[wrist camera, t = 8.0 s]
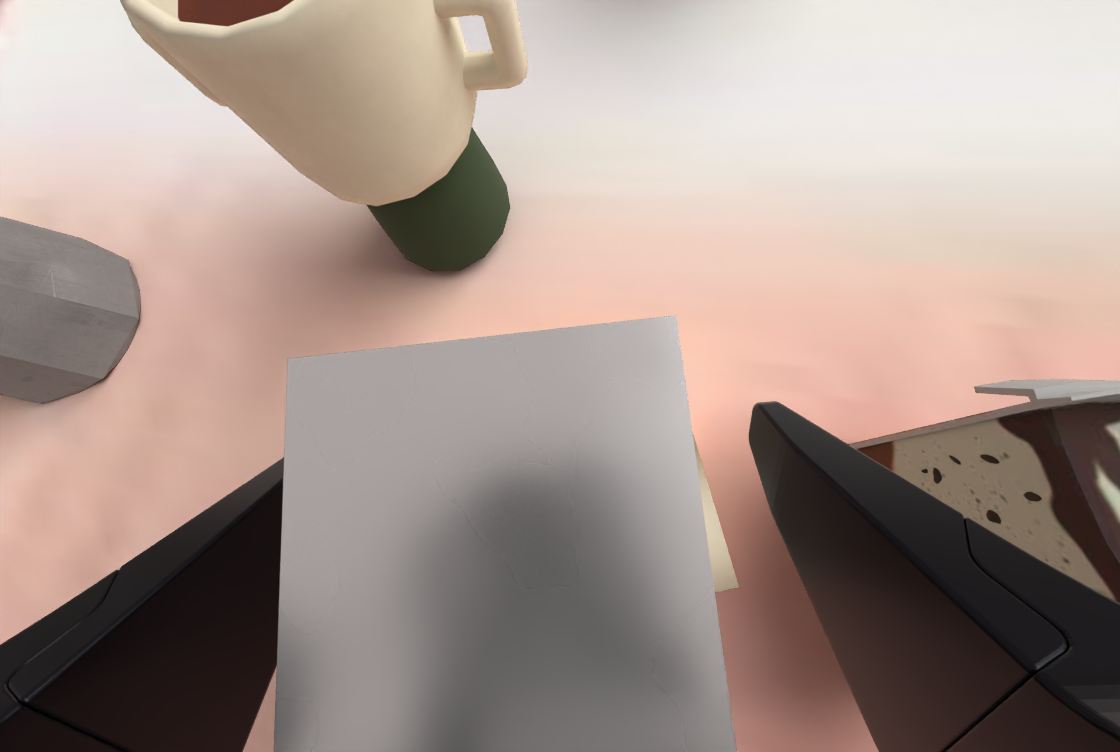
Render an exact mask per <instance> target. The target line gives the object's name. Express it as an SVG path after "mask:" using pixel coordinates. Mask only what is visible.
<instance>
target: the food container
mask: <svg viewBox="0 0 1120 752" xmlns="http://www.w3.org/2000/svg"><path fill="white" fill-rule="evenodd" d="M974 388H975V392H976V393H987V394H1002V395H1016V396H1028V397H1029V399H1030V401H1031V402H1027V403H1023V404H1019V405H1014V406H1010V407H1006V408H1002V409H997V410H993V411H989V412H984V413H980V414H976V415H972V416H967V417H963V418H959V419H955V420H950V421H946V422H942V423H937V424H933V425H929V426H925V427H920V428H916V429H912V430H908V431H903V432H899V433H895V434H891V435H886V436H882V437H878V438H873V439H869V440H865V441H861V442H856V443H852V444H848V445H850V446H852V447H853V448H855V449H856V450H858V451H860V452H861V453H863V454H865V455H866V456H868V457H870V458H871V459H873V460H875V461H876V462H878V463H880V464H881V465H883V466H884V467H886V468H888V469H889V470H891V471H893V472H894V473H896V474H898V475H899V476H901V477H903V478H904V479H906V480H908V481H909V482H911V483H912V484H914V485H916V486H917V487H919V488H921V489H922V490H924V491H926V492H927V493H929V494H931V495H932V496H934V497H936V498H937V499H939V500H940V501H942V502H944V503H945V504H947V505H949V506H950V507H952V508H954V509H955V510H957V511H959V512H960V513H962V514H963V516H964V518H966V517H968V518H970V519H972V520H974V521H975V522H977V523H979V524H980V525H982V526H984V527H985V528H987V529H989V530H990V531H992V532H993V533H995V534H997V535H999V536H1000V537H1002V538H1004V539H1005V540H1007V541H1009V542H1010V543H1012V544H1014V545H1016V546H1017V547H1019V548H1021V549H1022V550H1024V551H1026V552H1028V553H1029V554H1031V555H1033V556H1034V557H1036V558H1038V559H1039V560H1041V561H1043V562H1045V563H1047V564H1049V565H1050V566H1052V567H1054V568H1056V569H1058V570H1059V571H1061V572H1063V573H1065V574H1067V575H1069V576H1070V577H1072V578H1074V579H1076V580H1078V581H1079V582H1081V583H1083V584H1085V585H1087V586H1089V587H1090V588H1092V589H1094V590H1096V591H1098V592H1100V593H1101V594H1103V595H1105V596H1107V597H1109V598H1111V599H1113V600H1115V601H1116V602H1118V603H1120V381H1104V380H1068V379H1043V380H1011V381H1005V382H999V383H993V384H987V385H981V386H975V387H974Z"/></svg>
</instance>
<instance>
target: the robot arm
mask: <svg viewBox="0 0 1120 752" xmlns="http://www.w3.org/2000/svg"><path fill="white" fill-rule="evenodd" d="M749 443H750V447H751V450H752V453H753V456H754V459H755V463H756V466H757V469H758V472H759V475H760V479H761V482H762V485H763V488H764V491H765V494H766V498H767V501H768V504H769V507H770V510H771V513H772V515H773V517H774V520H775V522H776V525H777V527H778V529H779V531H780V534H781V536H782V538H783V540H784V542H785V545H786V547H787V549H788V551H789V554H790V556H791V558H792V560H793V562H794V565H795V567H796V569H797V571H798V573H799V576H800V578H801V580H802V582H803V585H804V587H805V589H806V591H807V593H808V596H809V598H810V600H811V602H812V605H813V607H814V609H815V611H816V613H817V616H818V618H819V620H820V622H821V625H822V627H823V629H824V631H825V633H826V636H827V638H828V640H829V642H830V645H831V647H832V649H833V651H834V653H835V656H836V658H837V660H838V662H839V665H840V667H841V669H842V671H843V673H844V676H845V678H846V680H847V682H848V684H849V687H850V689H851V691H852V693H853V696H854V698H855V700H856V702H857V704H858V707H859V709H860V711H861V713H862V716H863V718H864V720H865V722H866V724H867V727H868V729H869V731H870V733H871V736H872V738H873V740H874V742H875V744H876V747H877V749H878V751H879V752H1120V603H1118V602H1116V601H1115V600H1113V599H1111V598H1109V597H1107V596H1105V595H1103V594H1101V593H1100V592H1098V591H1096V590H1094V589H1092V588H1090V587H1089V586H1087V585H1085V584H1083V583H1081V582H1079V581H1078V580H1076V579H1074V578H1072V577H1070V576H1069V575H1067V574H1065V573H1063V572H1061V571H1059V570H1058V569H1056V568H1054V567H1052V566H1050V565H1049V564H1047V563H1045V562H1043V561H1041V560H1039V559H1038V558H1036V557H1034V556H1033V555H1031V554H1029V553H1028V552H1026V551H1024V550H1022V549H1021V548H1019V547H1017V546H1016V545H1014V544H1012V543H1010V542H1009V541H1007V540H1005V539H1004V538H1002V537H1000V536H999V535H997V534H995V533H993V532H992V531H990V530H989V529H987V528H985V527H984V526H982V525H980V524H979V523H977V522H975V521H974V520H972V519H970V518H968V517H966V518H964V516H963V514H962V513H960V512H959V511H957V510H955V509H954V508H952V507H950V506H949V505H947V504H945V503H944V502H942V501H940V500H939V499H937V498H936V497H934V496H932V495H931V494H929V493H927V492H926V491H924V490H922V489H921V488H919V487H917V486H916V485H914V484H912V483H911V482H909V481H908V480H906V479H904V478H903V477H901V476H899V475H898V474H896V473H894V472H893V471H891V470H889V469H888V468H886V467H884V466H883V465H881V464H880V463H878V462H876V461H875V460H873V459H871V458H870V457H868V456H866V455H865V454H863V453H861V452H860V451H858V450H856V449H855V448H853V447H852V446H850V445H848V444H847V443H845V442H843V441H842V440H840V439H838V438H837V437H835V436H833V435H832V434H830V433H828V432H827V431H825V430H824V429H822V428H820V427H819V426H817V425H815V424H814V423H812V422H810V421H809V420H807V419H805V418H804V417H802V416H800V415H799V414H797V413H796V412H794V411H792V410H791V409H789V408H787V407H786V406H784V405H782V404H781V403H779V402H776V401H772V402H760V403H756V404H755V405H754V407H753V410H752V417H751V423H750V429H749ZM283 477H284V458H282V459H281V460H279V461H278V462H276V463H275V464H273V465H272V466H270V467H269V468H267V469H266V470H264V471H263V472H261V473H260V474H258V475H257V476H255V477H254V478H253V479H251V480H250V481H248V482H247V483H245V484H244V485H242V486H241V487H239V488H238V489H236V490H235V491H233V492H232V493H230V494H229V495H227V496H226V497H224V498H223V499H221V500H220V501H218V502H217V503H215V504H214V505H212V506H211V507H209V508H208V509H206V510H205V511H203V512H202V513H200V514H199V515H197V516H196V517H194V518H193V519H191V520H190V521H188V522H187V523H185V524H184V525H182V526H181V527H180V528H178V529H177V530H175V531H174V532H172V533H171V534H169V535H168V536H166V537H165V538H163V539H162V540H160V541H159V542H157V543H156V544H154V545H153V546H151V547H150V548H148V549H147V550H145V551H144V552H142V553H141V554H139V555H138V556H136V557H135V558H133V559H132V560H130V561H129V562H127V563H126V564H124V565H123V566H122V567H121V568H120V570H115V571H114V572H112V573H111V574H109V575H108V576H106V577H105V578H103V579H102V580H100V581H99V582H97V583H96V584H94V585H93V586H91V587H90V588H88V589H87V590H85V591H84V592H82V593H81V594H79V595H78V596H76V597H75V598H73V599H72V600H70V601H69V602H67V603H66V604H64V605H63V606H61V607H59V608H58V609H56V610H55V611H53V612H52V613H50V614H49V615H47V616H45V617H44V618H42V619H41V620H39V621H37V622H36V623H34V624H33V625H31V626H30V627H28V628H26V629H25V630H23V631H22V632H20V633H18V634H17V635H15V636H14V637H12V638H10V639H9V640H7V641H6V642H4V643H2V644H1V645H0V752H243V749H244V747H245V744H246V742H247V739H248V737H249V734H250V732H251V729H252V727H253V724H254V722H255V719H256V717H257V714H258V711H259V709H260V706H261V704H262V701H263V699H264V696H265V694H266V691H267V689H268V686H269V684H270V681H271V679H272V676H273V674H274V671H275V669H276V666H277V647H278V619H279V590H280V562H281V533H282V505H283Z"/></svg>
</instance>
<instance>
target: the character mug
mask: <svg viewBox="0 0 1120 752" xmlns="http://www.w3.org/2000/svg"><path fill="white" fill-rule="evenodd" d="M120 2H121V4H122V6H123V7H124V9H125V11H126V13H127V15H128V17H129V20H130V22H131V24H132V26H133V28H134V29H135V30H136V31H137V33H138V34H139V35H140V36H141V38H142V39H143V40H144V41H145V42H146V43H147V44H148V45H149V46H150V47H151V48H153V49H154V50H155V51H156V52H157V53H158V54H159V55H160V56H162V57H163V58H164V59H165V60H166V61H167V62H168V63H169V64H170V65H172V66H173V67H174V68H175V69H176V70H177V71H178V72H179V73H181V74H182V75H183V76H184V77H185V78H186V79H187V80H189V81H190V82H191V83H192V84H193V85H194V86H195V87H196V88H198V89H199V90H200V91H201V92H202V93H203V94H204V95H205V96H207V97H208V98H210V99H211V100H213V101H214V102H216V103H218V104H219V105H221V106H227V107H229V108H230V109H231V110H232V111H233V112H234V113H235V114H236V115H237V116H239V117H240V118H241V119H242V120H243V121H244V122H245V123H246V124H247V125H248V126H249V127H251V128H252V129H253V130H254V131H255V132H256V133H257V134H258V135H259V136H260V137H262V138H263V139H264V140H265V141H266V142H267V143H268V144H269V145H270V146H271V147H273V148H274V149H275V150H276V151H277V152H278V153H279V154H280V155H281V156H282V157H284V158H285V159H286V160H287V161H288V162H289V163H290V164H291V165H292V166H293V167H294V168H296V169H297V170H298V171H299V172H300V173H302V174H303V175H305V176H306V177H308V178H309V179H311V180H312V181H314V182H315V183H317V184H318V185H320V186H321V187H323V188H324V189H326V190H327V191H329V192H330V193H332V194H333V195H335V196H336V197H338V198H339V199H341V200H345V201H350V202H356V203H361V204H366V205H367V206H368V208H369V209H370V211H371V212H372V214H373V215H374V217H375V218H376V220H377V221H378V222H379V224H380V225H381V226H382V228H383V229H384V230H385V232H386V233H387V234H388V236H389V237H390V238H391V240H392V241H393V242H394V244H395V245H396V246H397V247H398V249H399V250H400V251H401V252H402V254H403V255H404V256H405V258H406V259H408V260H410V261H412V262H414V263H416V264H418V265H420V266H422V267H424V268H426V269H428V270H430V271H448V270H460V269H462V268H464V267H466V266H468V265H470V264H472V263H473V262H475V261H477V260H479V259H481V258H483V257H485V255H486V254H487V253H488V251H489V250H490V249H491V248H492V246H493V245H494V244H495V243H496V241H497V240H498V239H499V238H500V236H501V235H502V234H503V230H504V227H505V224H506V220H507V217H508V213H509V210H510V204H509V198H508V192H507V187H506V184H505V182H504V180H503V178H502V176H501V174H500V173H499V171H498V169H497V167H496V165H495V163H494V161H493V160H492V158H491V156H490V155H489V153H488V152H487V150H486V149H485V147H484V146H483V144H482V142H481V141H480V139H479V138H478V136H477V135H476V133H475V131H474V130H473V128H472V122H473V117H474V113H475V106H476V98H477V90H491V89H504V88H511V87H513V86H516V85H518V84H521V83H522V81H523V80H524V79H525V78H526V74H527V67H528V61H527V56H526V51H525V46H524V41H523V36H522V31H521V26H520V21H519V16H518V12H517V7H516V2H515V0H120ZM470 15H479V16H483V18H484V22H485V25H486V29H487V32H488V36H489V39H490V43H491V46H492V50H491V51H478V52H468V49H467V46H466V43H465V40H464V37H463V34H462V31H461V28H460V25H459V22H458V19H457V17H459V16H470Z"/></svg>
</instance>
